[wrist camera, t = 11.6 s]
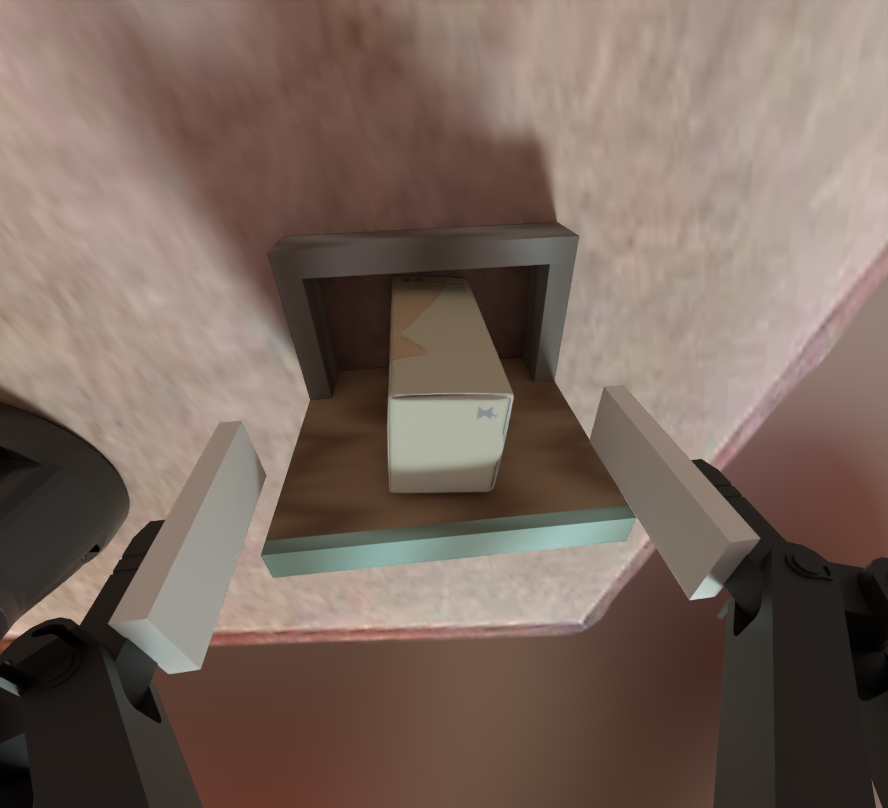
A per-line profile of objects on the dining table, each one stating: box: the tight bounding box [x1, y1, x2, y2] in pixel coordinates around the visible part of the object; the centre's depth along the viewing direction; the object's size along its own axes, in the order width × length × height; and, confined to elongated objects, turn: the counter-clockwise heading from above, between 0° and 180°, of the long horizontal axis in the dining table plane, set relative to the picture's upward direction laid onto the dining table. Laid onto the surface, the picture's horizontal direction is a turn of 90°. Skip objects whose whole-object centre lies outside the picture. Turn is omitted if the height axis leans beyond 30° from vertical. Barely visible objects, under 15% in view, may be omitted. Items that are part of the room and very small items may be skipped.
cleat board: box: [261, 222, 636, 578], centre depth 17 cm, size 14×10×13 cm
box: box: [387, 276, 514, 493], centre depth 18 cm, size 5×4×11 cm
